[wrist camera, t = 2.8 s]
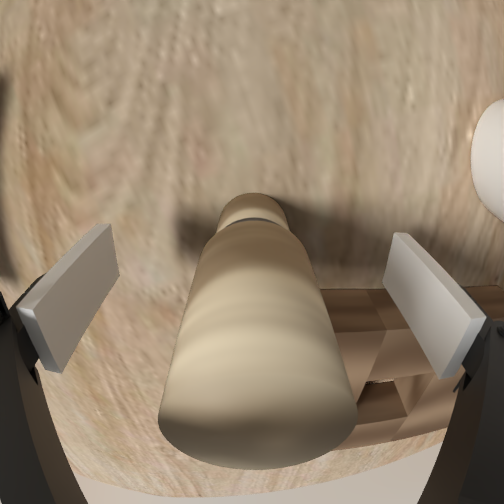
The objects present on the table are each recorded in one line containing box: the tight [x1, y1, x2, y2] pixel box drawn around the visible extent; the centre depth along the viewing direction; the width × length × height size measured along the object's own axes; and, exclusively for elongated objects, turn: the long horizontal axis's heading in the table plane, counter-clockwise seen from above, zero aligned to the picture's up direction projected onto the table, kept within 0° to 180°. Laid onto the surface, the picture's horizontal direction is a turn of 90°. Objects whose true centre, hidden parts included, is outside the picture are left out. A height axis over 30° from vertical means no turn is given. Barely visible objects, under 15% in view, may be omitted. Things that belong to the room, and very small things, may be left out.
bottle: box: [158, 193, 358, 470], centre depth 11 cm, size 4×4×12 cm
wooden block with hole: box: [320, 286, 504, 451], centre depth 20 cm, size 14×20×4 cm
